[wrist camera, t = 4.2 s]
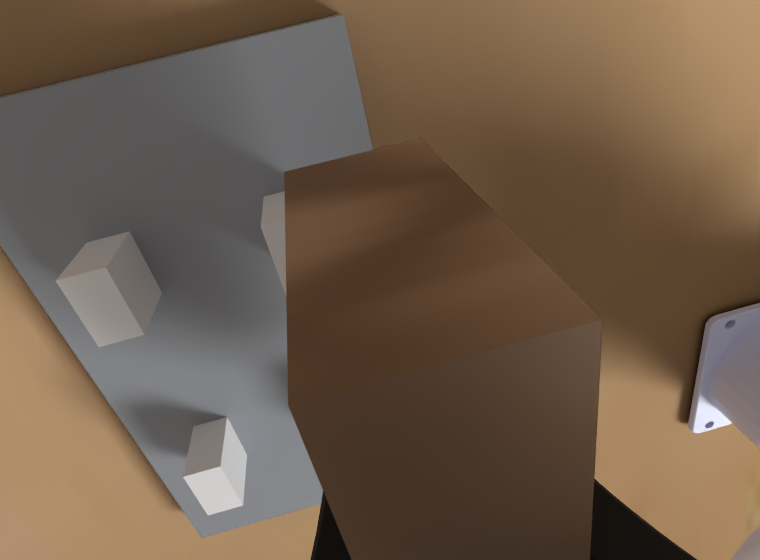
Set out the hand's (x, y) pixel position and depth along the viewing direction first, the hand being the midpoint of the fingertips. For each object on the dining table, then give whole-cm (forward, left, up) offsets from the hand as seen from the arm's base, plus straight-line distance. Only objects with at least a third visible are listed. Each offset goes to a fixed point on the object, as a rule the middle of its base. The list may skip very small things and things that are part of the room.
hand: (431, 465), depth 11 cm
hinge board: (+5, +2, -10) cm, 11 cm away
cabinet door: (0, 0, -3) cm, 3 cm away
